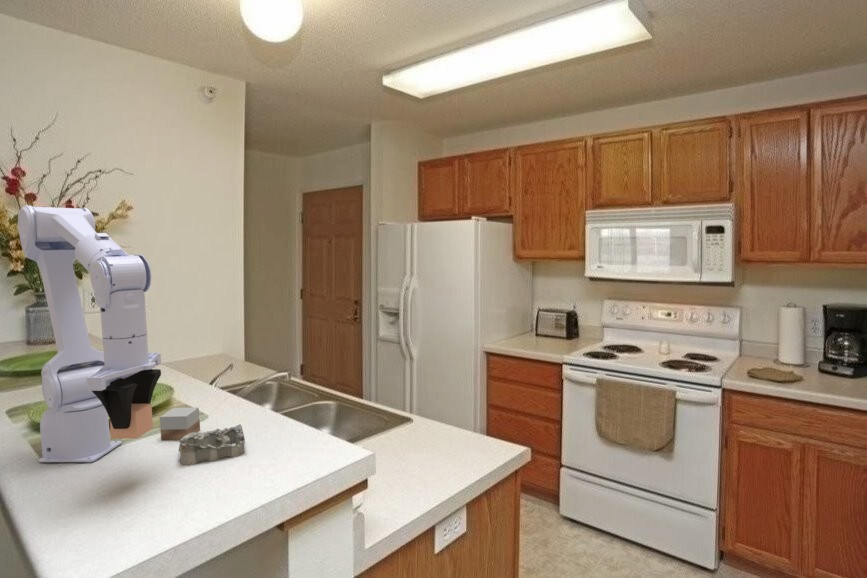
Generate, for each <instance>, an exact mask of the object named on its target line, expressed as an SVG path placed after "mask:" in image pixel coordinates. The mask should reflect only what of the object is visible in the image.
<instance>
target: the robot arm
mask: <svg viewBox="0 0 867 578" xmlns="http://www.w3.org/2000/svg"><path fill="white" fill-rule="evenodd" d="M95 222H96V221H95V218H94V215H93V213H92V211H90V210H89V208H87V207H79V208H77V207H75V208H73V207H53V206H52V207H50V206H31V205H27V204H26V205H23V206H22V207H21V208H20V209H19V211H18V215H17V230H18V236H19V239H20V240H19V241H20V244H21V245H20V246H21V249H22V251H23V253H24V257H25V258H27V259H30V260H31V261H34V262H36V264H37V267H38V269H39V270H38V271H39V273H40V275H41V279H42V284H43V289H44V294H45V299H46V303H47V308H48V313H49V317H50V322H51V327H52V331H53V336H54V339H55V340H54V341H55V345H56V349H57V350H56V351H57V353H56V354H55V355H54V356H52V358H50V359H49V360H48V361H47V362H46V363H45V364H44V365H43V366H42V369H41V372H40V375H41V381H42V382H41V390H42V391H41V392H42V396H43V397H42V398H43V399H44V403H45V404H46V406H47V407H48V408H47V409H45V411H44V412H43V413H42V416H41V419H40V422H39V430H40V431H39V433H40V434H39V435H40V442H41V443H40V444H41V453H42V456H41V457H40V458H39V459H38V462H39V463H93V462H96V461H97V460H98V459H101V458H102V457H103V456H104V455H106V454H108V453H109V452H111V451H112V450H113V449H116V448H117V447H119V446H120V445H121V444H122V443H123V441H122V440H111V432H110V421H111V423H112V426H113V428H114V429H127V428H129V427H130V422H131V405H132V404H152V403H151V402H152V400H153V399H152V398H153V394H154V390H155V388H156V385H157V383H158V381H159V379H160V377H161V376H162V370H161V369H159V368H156V367H157V366H160V365H162V358H161V357H162V355H161V354H162V353H161V352H149V347H148V331H147V330H148V328H147V327H148V326H147V312H146V310H147V309H146V300H145V299H146V297H145V293H146V292H148V291H149V290H150V287H151V284H152V270H151V267H150V263H149V261H148V260H147V258H145V256H144V255H143V254H140V253H139V254H128V253H127V252H126V251H125V249H123V248H122V246H120V245H119V244H118V243H117V242H116V241H114V239H112V238H111V237H110V236H109V234H108V233H106V232H97V231H96V223H95ZM75 261H78V262H79V263H80V265H82V266H83V267H84V268H85V270H86V271H87V272H88V273H89V274H90V277H89V278H90V284H91V286H92V290H93V292H94V297H95V303H96V306H97V307H99V308H100V321H101V323H100V324H101V337H102V349H103V351H102V350H100V349H97V348H95V347H93V346H92V344H91V341H90V340H91V339H90V337H89V331H88V328H87V327H88V326H87V323H86V319H85V314H84V308H83V306H82V305H83V303H82V300H81V297H80V291H79V290H80V289H79V287H78V286H79V285H78V282H77V278H76V273H75V269H74V268H75V267H74V263H75ZM154 368H155V369H154Z"/></svg>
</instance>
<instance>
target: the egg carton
mask: <svg viewBox="0 0 867 578" xmlns="http://www.w3.org/2000/svg"><path fill="white" fill-rule="evenodd" d="M245 438H246V437H245V433H244V430H243V426H242V424H241V423H239V424H237V425H235V426H231V427H230V428H228V427H225V428H223V429H222V430H221V429H220V428H216V429H214V430H207V431H204V432H192V433H189V434H187V435H186V436H184V437H183V438H181V440H179V447H178V452H179V453H180V465H188V466H194V465H196V464H198V463H199V462H202V461H210V462H214V461H217V460H219V459H220V458H223V457H231V458H235V457H239V455H240V454H243V453H245V443H246V439H245ZM232 443H233V444H234V443H235V444H234V445H233V444H232Z"/></svg>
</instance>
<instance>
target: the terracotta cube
mask: <svg viewBox="0 0 867 578" xmlns="http://www.w3.org/2000/svg"><path fill="white" fill-rule="evenodd" d="M152 405H153V404H152V403H150V404H132V405H131V422H130V427H129V428H127V429H114V428H113V426H112V423H111V421H110V420H109V431H110V439H139V438H140V437H142V436H143V435H145V434H147V433H148V432H149V431H151V430H152V429H153V428H154V425H153V424H154V423H153V421H154V420H153V409H152V407H153V406H152Z"/></svg>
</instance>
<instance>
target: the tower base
mask: <svg viewBox="0 0 867 578" xmlns="http://www.w3.org/2000/svg"><path fill="white" fill-rule="evenodd" d="M200 431H201V423H200V419H199V420H198V421H197V422H196V423H195V424H193V425H192V426H191V427H189V428H188V429H169V430H161V429H160V441H180V440H181V438H183V437H184V436H186V435H187V434H189V433H192V432H198V433H200Z"/></svg>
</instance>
